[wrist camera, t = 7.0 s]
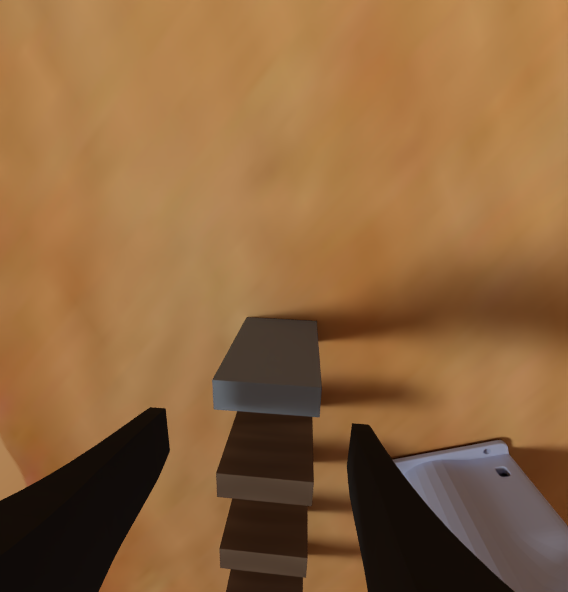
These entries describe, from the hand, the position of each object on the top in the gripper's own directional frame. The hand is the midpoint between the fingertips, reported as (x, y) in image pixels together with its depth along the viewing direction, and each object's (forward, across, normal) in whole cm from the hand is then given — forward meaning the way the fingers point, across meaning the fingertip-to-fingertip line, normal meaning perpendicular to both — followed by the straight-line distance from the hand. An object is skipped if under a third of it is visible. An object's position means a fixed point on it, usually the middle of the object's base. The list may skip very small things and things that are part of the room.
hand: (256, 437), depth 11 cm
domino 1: (+10, 0, +6) cm, 12 cm away
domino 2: (+10, 0, +11) cm, 15 cm away
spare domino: (+10, 0, 0) cm, 10 cm away
